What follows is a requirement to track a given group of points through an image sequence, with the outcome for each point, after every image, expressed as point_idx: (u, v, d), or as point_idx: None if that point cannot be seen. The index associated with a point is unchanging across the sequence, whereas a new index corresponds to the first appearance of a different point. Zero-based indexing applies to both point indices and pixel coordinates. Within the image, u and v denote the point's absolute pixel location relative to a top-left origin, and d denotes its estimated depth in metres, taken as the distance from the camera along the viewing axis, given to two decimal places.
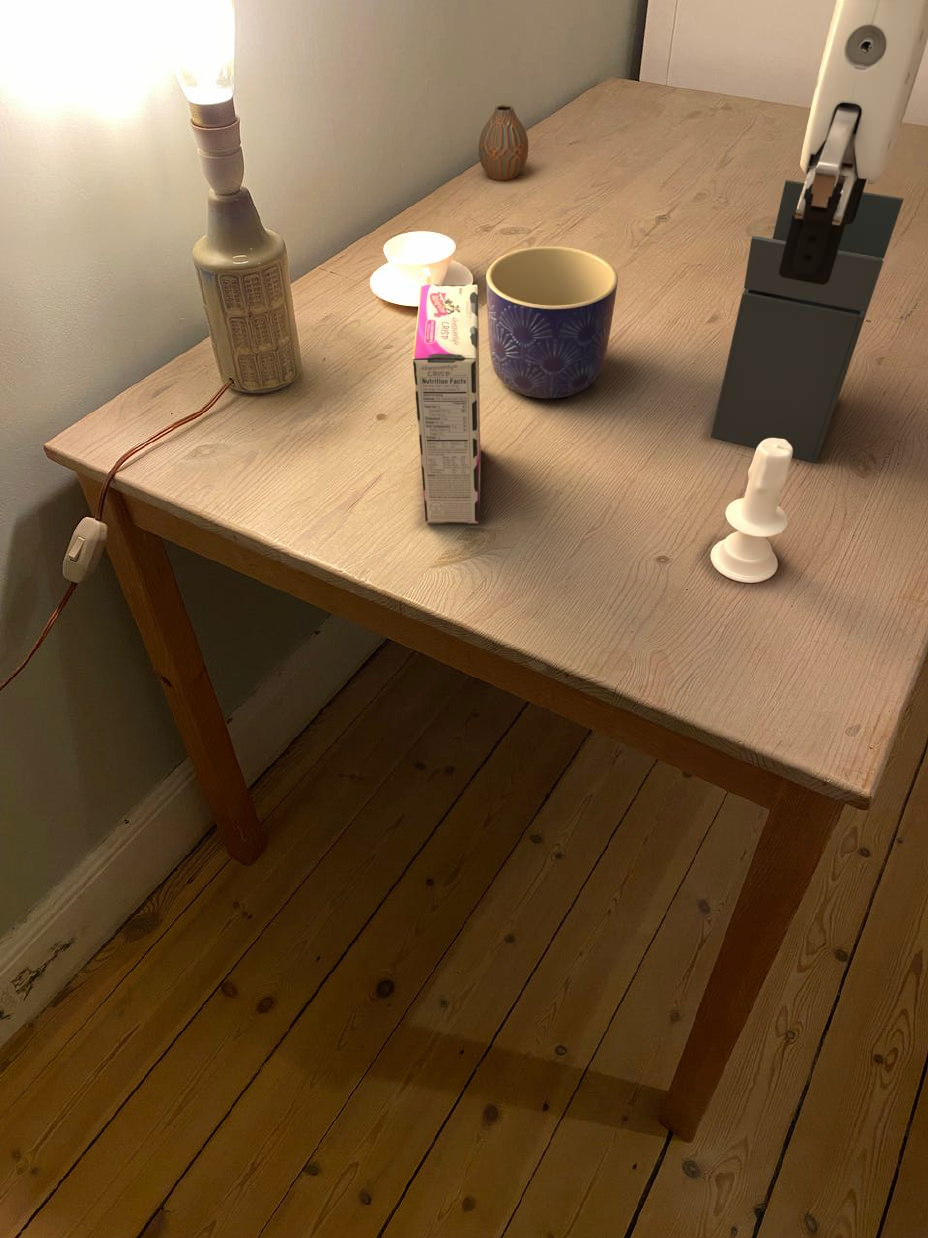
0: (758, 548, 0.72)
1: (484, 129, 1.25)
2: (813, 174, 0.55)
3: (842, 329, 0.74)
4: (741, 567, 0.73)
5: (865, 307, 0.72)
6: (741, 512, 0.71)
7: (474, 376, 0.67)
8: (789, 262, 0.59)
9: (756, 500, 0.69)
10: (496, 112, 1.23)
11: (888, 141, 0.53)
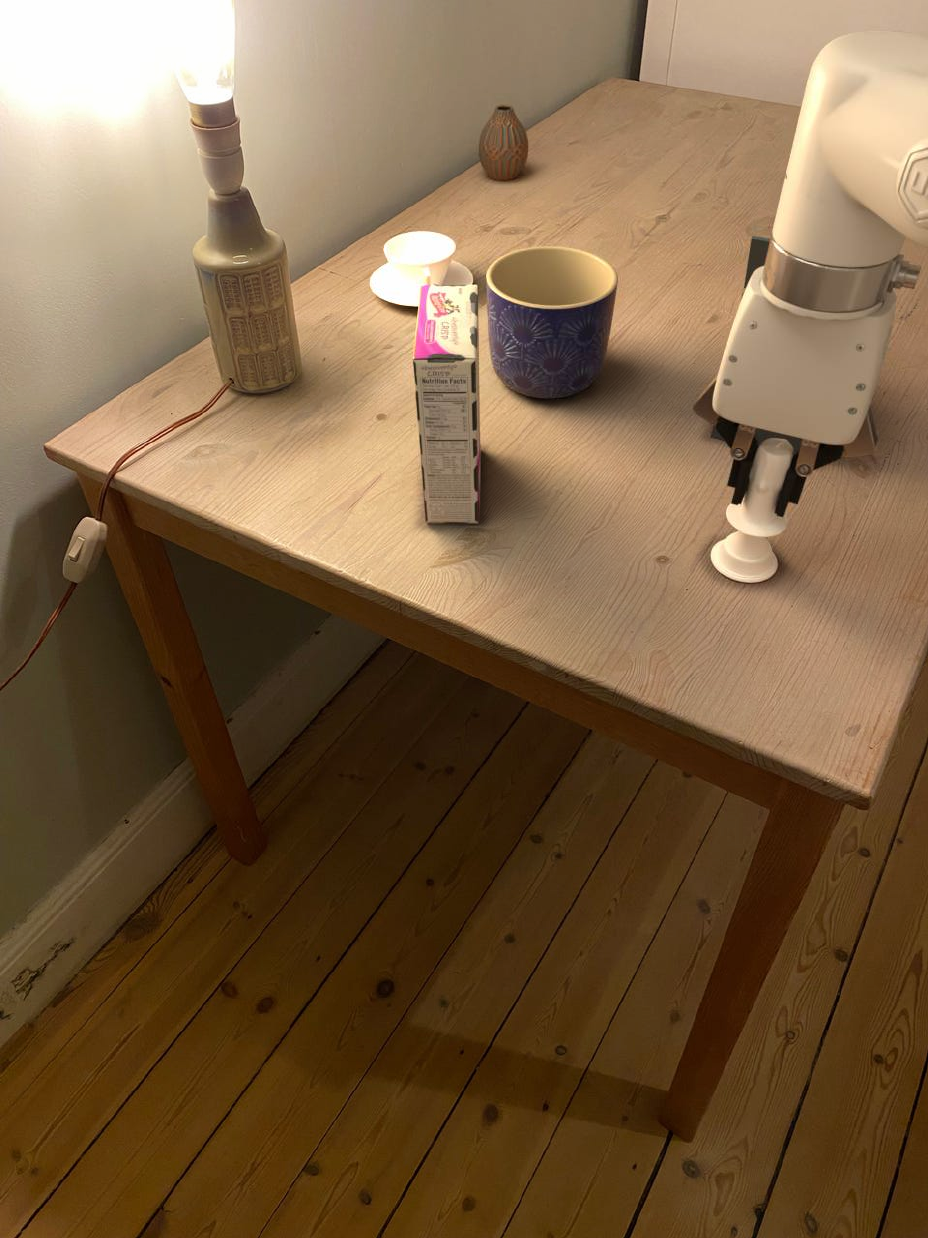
0: (758, 548, 0.72)
1: (484, 129, 1.25)
2: (819, 447, 0.64)
3: None
4: (741, 567, 0.73)
5: None
6: (741, 512, 0.71)
7: (474, 376, 0.67)
8: (787, 504, 0.68)
9: (756, 500, 0.69)
10: (496, 112, 1.23)
11: None
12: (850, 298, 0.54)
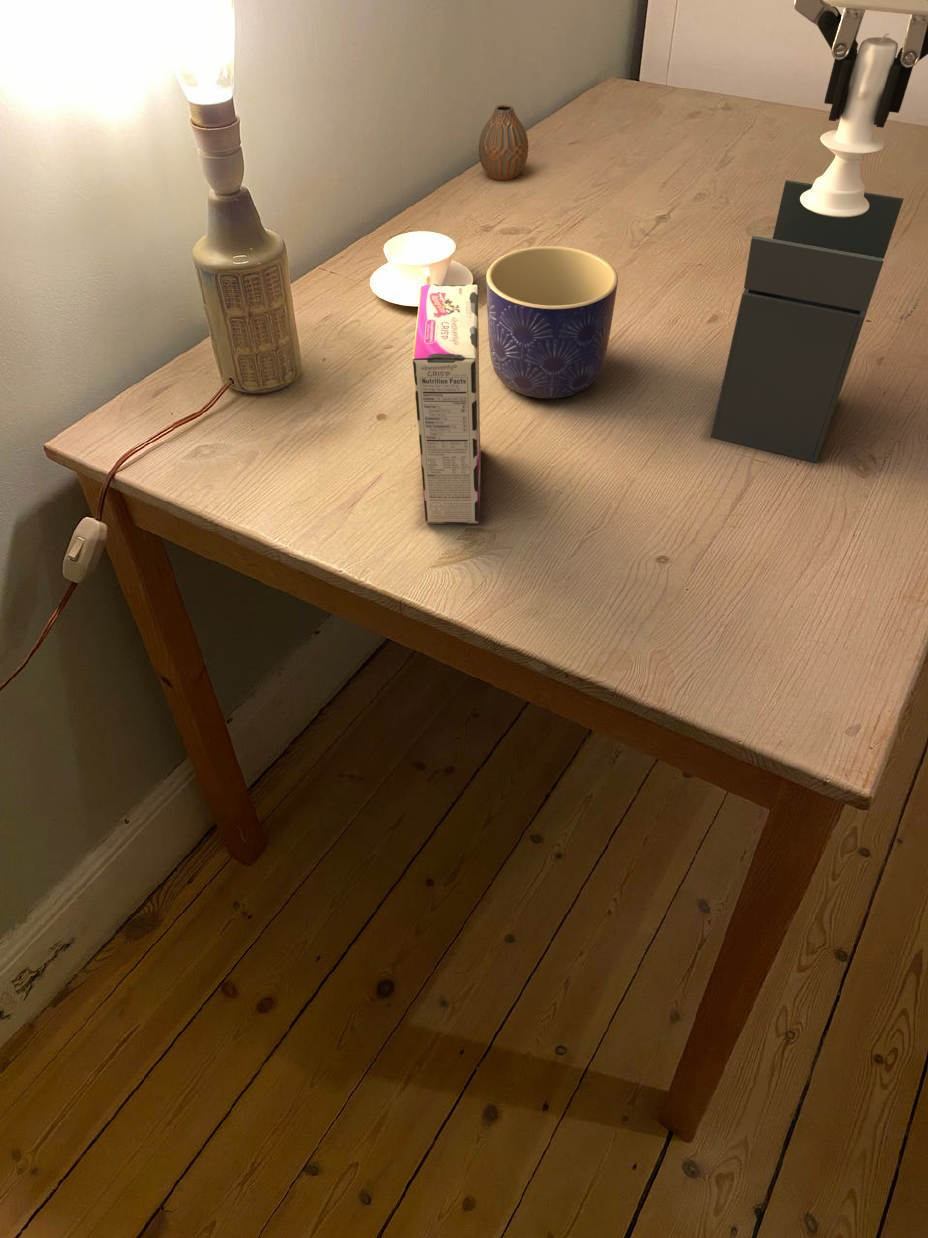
0: (853, 177, 0.71)
1: (484, 129, 1.25)
2: (927, 25, 0.62)
3: (842, 329, 0.74)
4: (834, 200, 0.71)
5: (865, 307, 0.72)
6: (837, 134, 0.69)
7: (474, 376, 0.67)
8: (888, 111, 0.66)
9: (856, 110, 0.67)
10: (496, 112, 1.23)
11: None
12: None
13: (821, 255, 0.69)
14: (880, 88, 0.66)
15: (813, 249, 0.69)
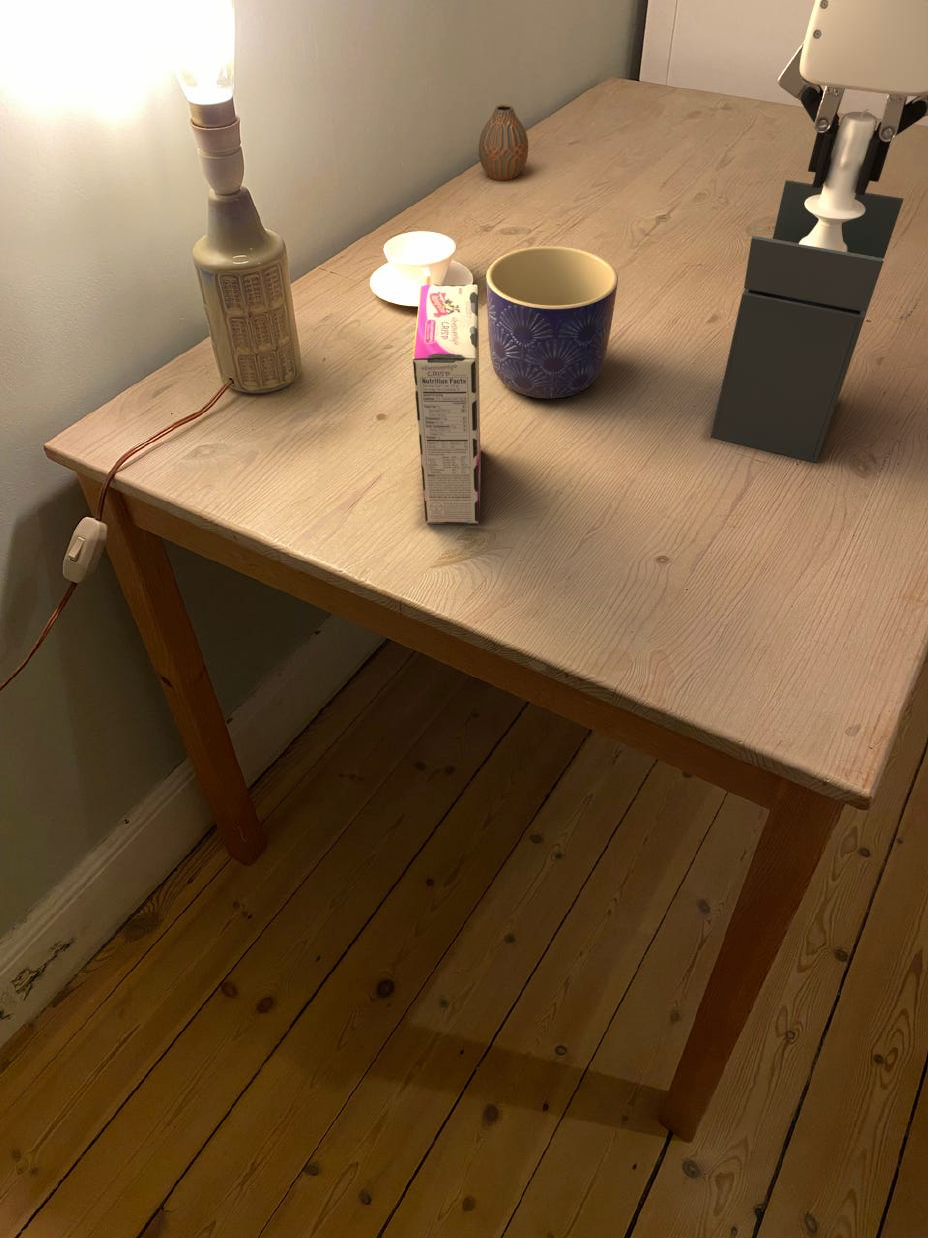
0: (835, 240, 0.74)
1: (484, 129, 1.25)
2: (904, 104, 0.66)
3: (842, 329, 0.74)
4: None
5: (865, 307, 0.72)
6: (820, 200, 0.73)
7: (474, 376, 0.67)
8: (868, 180, 0.70)
9: (838, 179, 0.71)
10: (496, 112, 1.23)
11: None
12: None
13: (821, 255, 0.69)
14: (860, 159, 0.69)
15: (813, 249, 0.69)
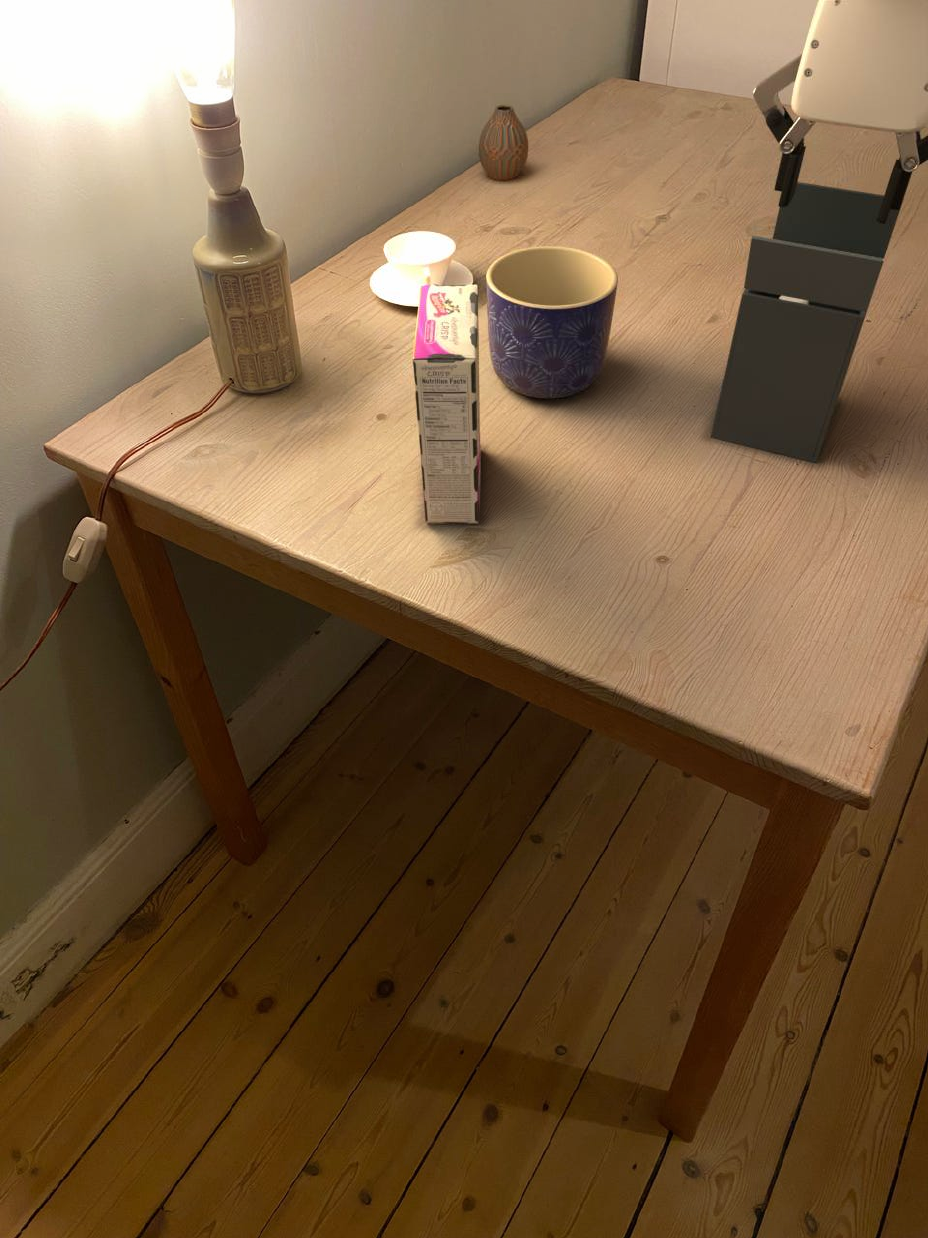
0: None
1: (484, 129, 1.25)
2: (915, 133, 0.67)
3: (842, 329, 0.74)
4: None
5: (865, 307, 0.72)
6: None
7: (474, 376, 0.67)
8: (889, 209, 0.71)
9: None
10: (496, 112, 1.23)
11: None
12: None
13: (821, 255, 0.69)
14: None
15: (813, 249, 0.69)
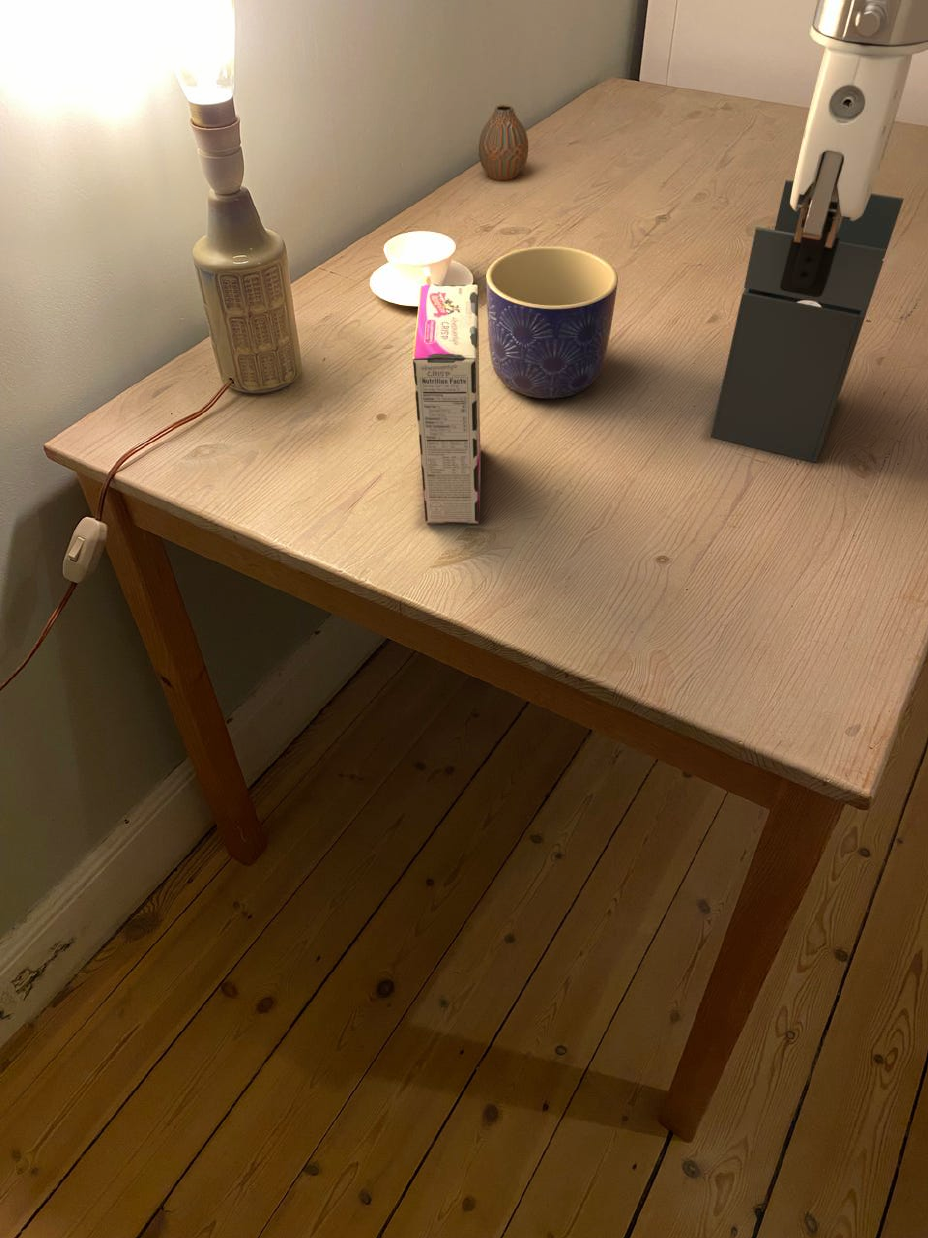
0: None
1: (484, 129, 1.25)
2: (804, 215, 0.65)
3: (842, 329, 0.74)
4: None
5: (865, 306, 0.72)
6: None
7: (474, 376, 0.67)
8: (789, 278, 0.69)
9: None
10: (496, 112, 1.23)
11: (867, 184, 0.59)
12: (820, 14, 0.57)
13: None
14: None
15: None
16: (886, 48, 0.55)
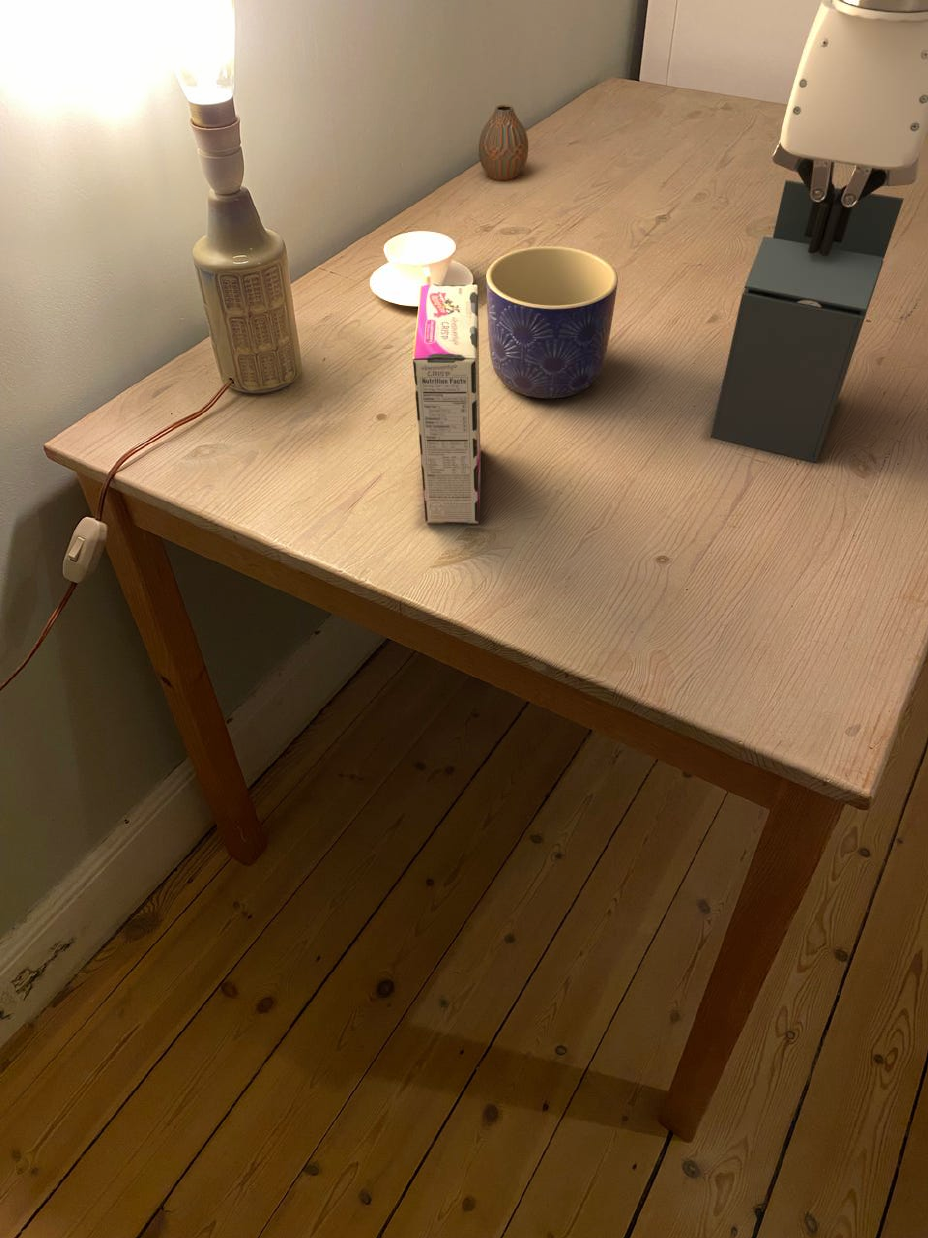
0: None
1: (484, 129, 1.25)
2: (868, 176, 0.69)
3: (842, 329, 0.74)
4: None
5: (866, 304, 0.72)
6: None
7: (474, 376, 0.67)
8: (831, 242, 0.73)
9: None
10: (496, 112, 1.23)
11: None
12: None
13: None
14: None
15: (820, 247, 0.75)
16: None
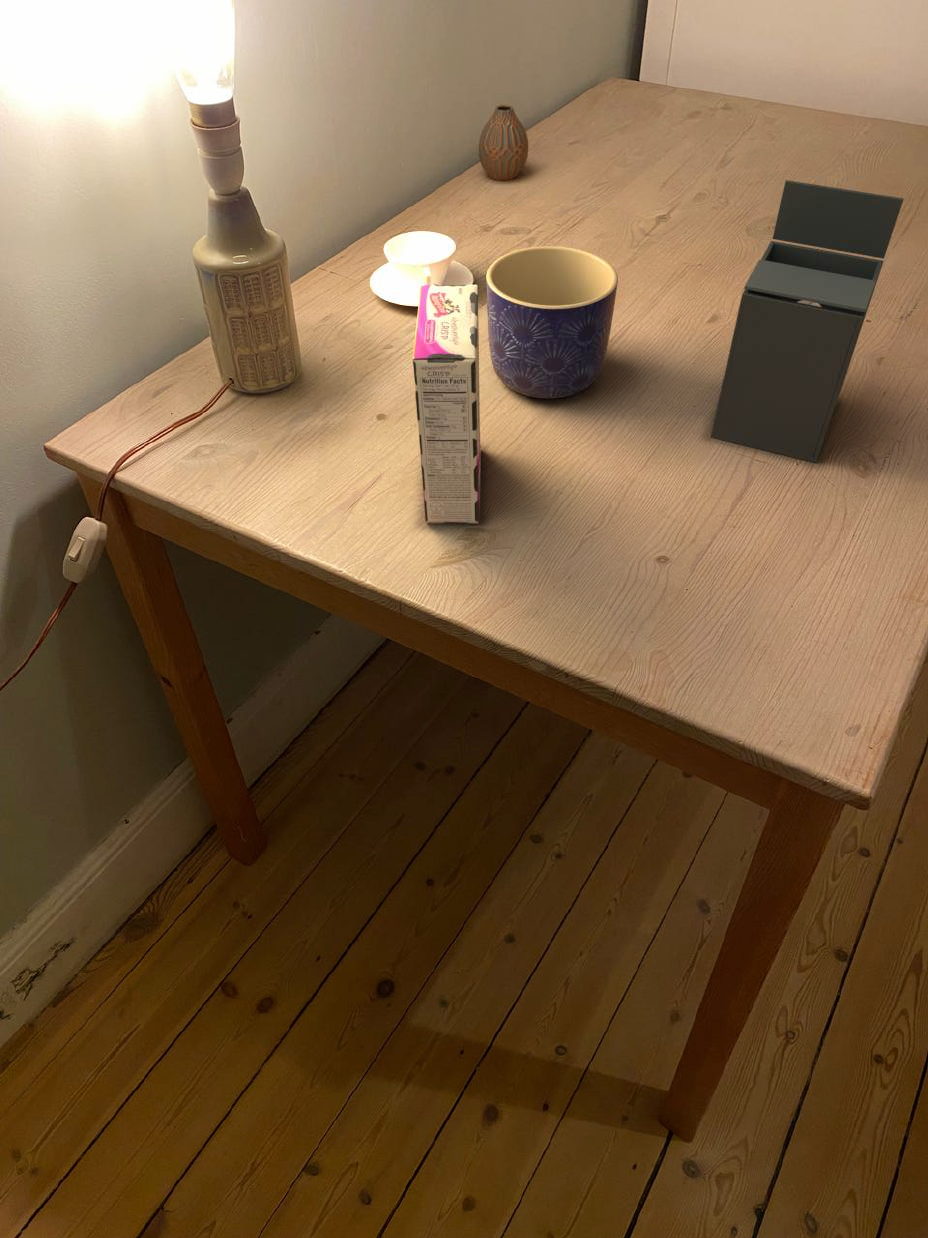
0: None
1: (484, 129, 1.25)
2: None
3: (842, 329, 0.74)
4: None
5: (866, 305, 0.73)
6: None
7: (474, 376, 0.67)
8: None
9: None
10: (496, 112, 1.23)
11: None
12: None
13: (822, 273, 0.77)
14: None
15: (814, 270, 0.77)
16: None
